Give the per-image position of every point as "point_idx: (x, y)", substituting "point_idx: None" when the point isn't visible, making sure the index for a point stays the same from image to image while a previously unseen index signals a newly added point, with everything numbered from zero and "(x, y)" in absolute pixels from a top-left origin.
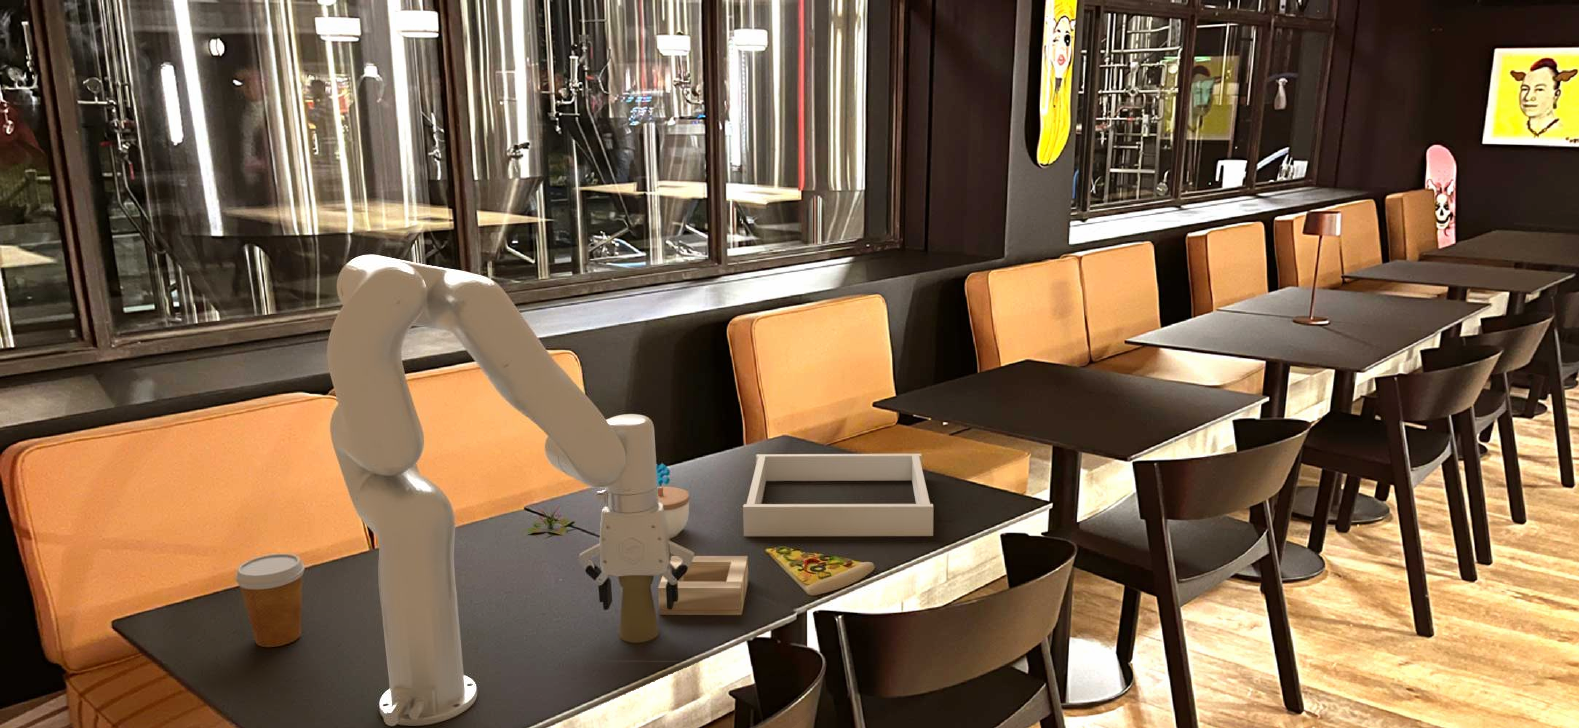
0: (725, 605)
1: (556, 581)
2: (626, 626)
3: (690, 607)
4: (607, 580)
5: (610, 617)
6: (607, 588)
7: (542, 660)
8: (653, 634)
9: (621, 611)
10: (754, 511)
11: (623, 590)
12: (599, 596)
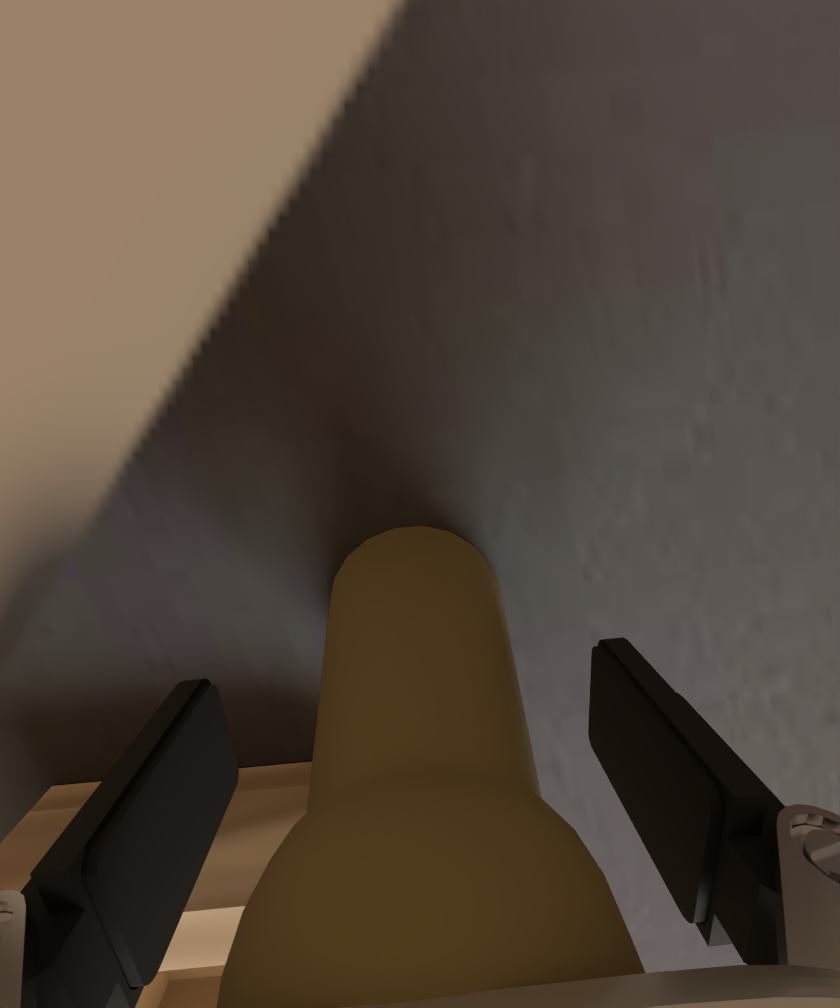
0: None
1: None
2: (458, 570)
3: (240, 798)
4: (725, 894)
5: (566, 718)
6: (685, 786)
7: (810, 310)
8: (337, 582)
9: (508, 650)
10: None
11: (530, 780)
12: (702, 720)
